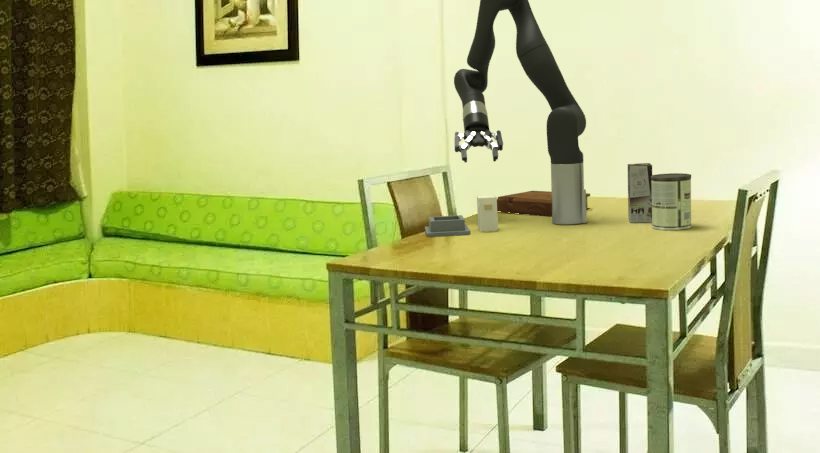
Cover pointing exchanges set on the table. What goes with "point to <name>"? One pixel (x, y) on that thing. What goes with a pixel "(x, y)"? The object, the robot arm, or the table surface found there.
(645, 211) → the coffee box
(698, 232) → the table surface
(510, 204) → the diary
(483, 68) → the robot arm
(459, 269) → the table surface
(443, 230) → the grey stepped pedestal
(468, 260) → the table surface
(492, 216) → the cream block
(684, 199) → the coffee can
